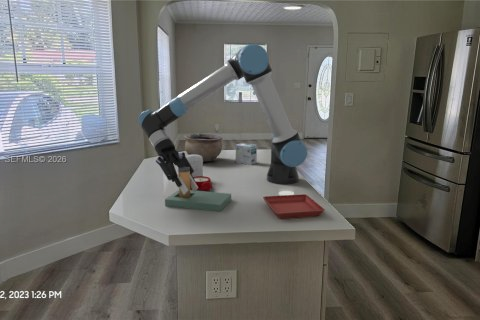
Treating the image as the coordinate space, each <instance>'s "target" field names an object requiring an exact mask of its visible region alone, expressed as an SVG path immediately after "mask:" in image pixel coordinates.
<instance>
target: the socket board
mask: <svg viewBox="0 0 480 320" xmlns="http://www.w3.org/2000/svg"><path fill="white" fill-rule="evenodd" d="M230 201H232V193H225V192H217V191H216V192H215V191H214V192H213V191H203V190H197V191H195V192H193V190H190V198H180V197H179V189H178V190H177V191H175V192H174V193H173V194H171V195H169V196H168V197H166V198H165V199H164V206H165V207H174V208H183V209H184V208H186V209H193V210H194V209H195V210H203V211H210V212H211V211H213V212H222V210H223V209H224V208H225V207H226V206H228V204H229V203H230Z"/></svg>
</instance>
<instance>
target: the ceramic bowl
mask: <svg viewBox="0 0 480 320" xmlns="http://www.w3.org/2000/svg"><path fill="white" fill-rule="evenodd" d="M184 138H185V144H184V149H185V152H186V154H187V156H188V155H200V156H202V158H203V163H204V162H211V161H214V160H216V159H217V157H219V156H220V154H221V153H222V150H223V143H222V140H223V138H224V137H223V135H220V134H217V133H208V132H207V133H204V132H202V133H201V132H200V133H198V134H197V133H190V134H189V136H188V135H184Z"/></svg>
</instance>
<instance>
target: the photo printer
mask: <svg viewBox="0 0 480 320" xmlns="http://www.w3.org/2000/svg"><path fill="white" fill-rule="evenodd" d="M185 156H186V158H187V160H188V162H189V163H190V165H191V167H192V168H193V170H194V172H193V173H192V176H193V177H196V176H204V175H203V174H204V169H203V166H204V164H203V163H204V162H203V158H202V156H200V155H188V154H187V155H185Z"/></svg>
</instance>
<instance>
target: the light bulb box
mask: <svg viewBox="0 0 480 320" xmlns="http://www.w3.org/2000/svg"><path fill="white" fill-rule="evenodd" d="M257 149H258V146H257V144H251V143H243V142H242V143H238V144H235V164H241V163H243V165H248V164H249V165H255V164H257V159H258V158H257V156H258V154H257V152H258V151H257Z"/></svg>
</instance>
